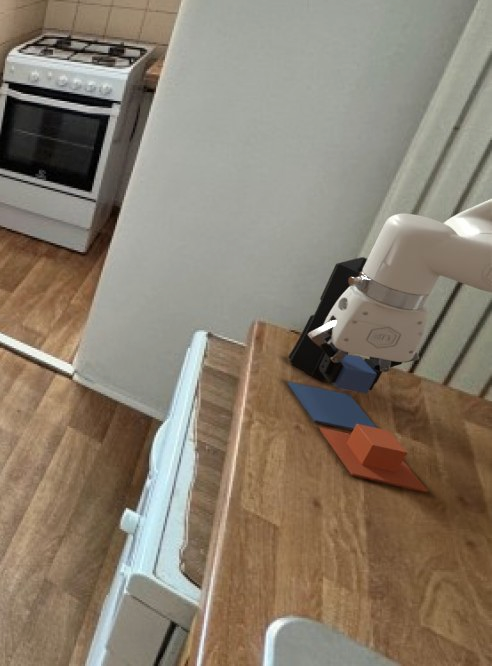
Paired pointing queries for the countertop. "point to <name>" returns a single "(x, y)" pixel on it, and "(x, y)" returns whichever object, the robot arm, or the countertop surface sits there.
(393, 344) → the robot arm
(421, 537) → the countertop surface
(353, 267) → the tall black tower box
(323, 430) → the terracotta mat
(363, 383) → the slate block
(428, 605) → the countertop surface
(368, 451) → the terracotta block
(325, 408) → the slate mat
